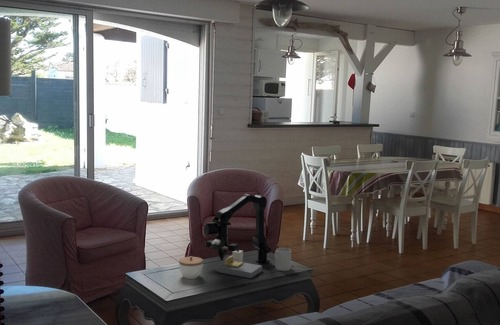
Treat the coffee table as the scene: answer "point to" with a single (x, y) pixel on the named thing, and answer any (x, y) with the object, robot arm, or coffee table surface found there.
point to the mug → (283, 259)
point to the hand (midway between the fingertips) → (221, 260)
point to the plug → (237, 255)
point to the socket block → (241, 270)
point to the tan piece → (232, 262)
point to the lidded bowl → (190, 267)
